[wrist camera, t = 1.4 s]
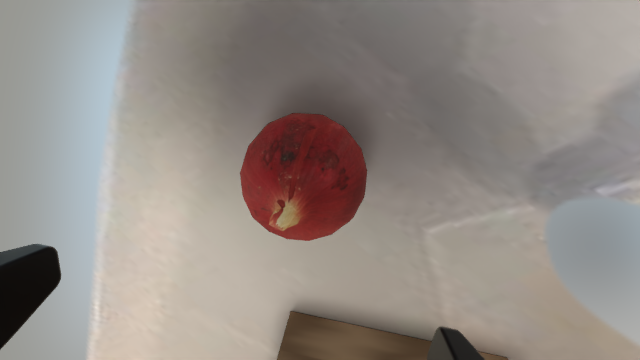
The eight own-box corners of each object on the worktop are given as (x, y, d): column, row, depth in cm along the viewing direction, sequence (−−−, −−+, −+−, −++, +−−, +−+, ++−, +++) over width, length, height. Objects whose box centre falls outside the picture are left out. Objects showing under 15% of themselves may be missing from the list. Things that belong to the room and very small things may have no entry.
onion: (264, 102, 18) (195, 129, 10) (369, 106, 17) (375, 138, 10) (268, 198, 20) (212, 279, 12) (361, 205, 19) (362, 294, 12)
